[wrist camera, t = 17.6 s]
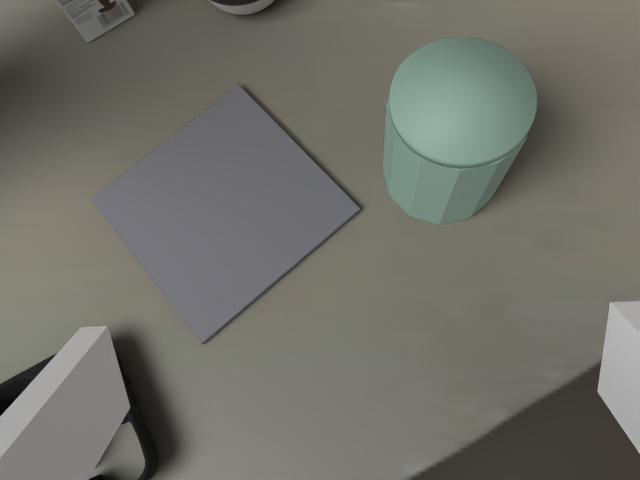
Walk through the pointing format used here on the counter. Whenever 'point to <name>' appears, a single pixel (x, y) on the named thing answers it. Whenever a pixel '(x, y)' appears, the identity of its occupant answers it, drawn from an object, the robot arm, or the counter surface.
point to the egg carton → (13, 387)
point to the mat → (223, 211)
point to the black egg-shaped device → (241, 6)
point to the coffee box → (95, 15)
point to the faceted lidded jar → (455, 126)
